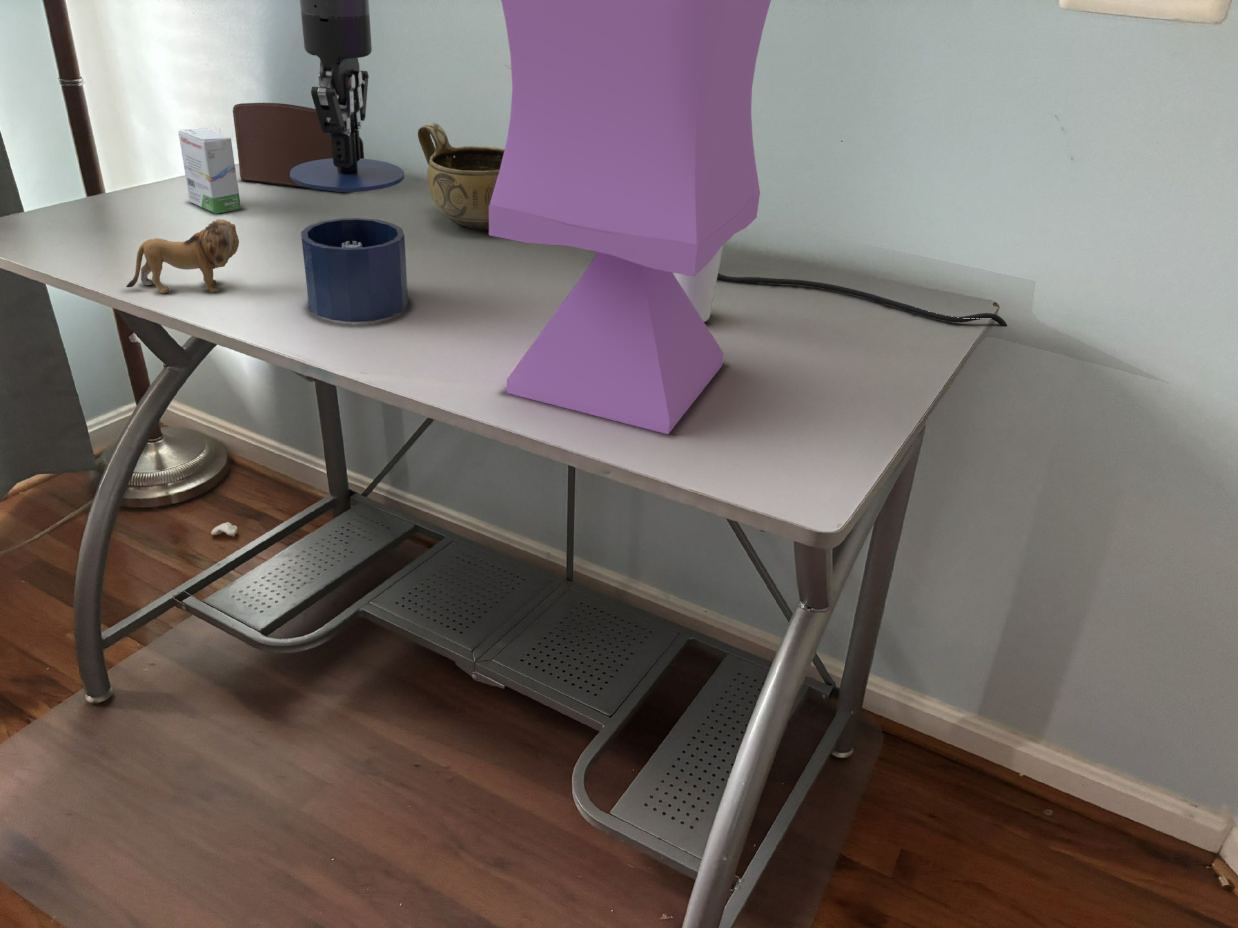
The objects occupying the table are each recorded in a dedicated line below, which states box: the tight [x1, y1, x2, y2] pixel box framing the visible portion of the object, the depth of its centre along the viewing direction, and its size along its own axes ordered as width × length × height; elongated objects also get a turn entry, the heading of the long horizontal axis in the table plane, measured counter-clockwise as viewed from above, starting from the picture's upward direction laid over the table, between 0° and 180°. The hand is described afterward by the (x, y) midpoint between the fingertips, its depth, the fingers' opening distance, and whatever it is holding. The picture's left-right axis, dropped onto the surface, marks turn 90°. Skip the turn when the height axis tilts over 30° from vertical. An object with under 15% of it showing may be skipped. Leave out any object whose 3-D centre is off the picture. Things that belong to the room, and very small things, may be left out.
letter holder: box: [232, 102, 365, 194], centre depth 172 cm, size 10×20×14 cm, turn 81°
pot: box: [300, 217, 409, 323], centre depth 125 cm, size 13×13×10 cm
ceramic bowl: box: [417, 122, 505, 230], centre depth 157 cm, size 22×17×15 cm
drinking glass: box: [672, 244, 725, 323], centre depth 128 cm, size 7×7×15 cm
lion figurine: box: [125, 218, 240, 294], centre depth 127 cm, size 15×5×9 cm, turn 110°
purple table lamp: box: [488, 0, 772, 435], centre depth 102 cm, size 22×22×45 cm
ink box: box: [177, 127, 242, 215], centre depth 157 cm, size 8×5×12 cm, turn 48°
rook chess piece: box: [342, 241, 362, 248], centre depth 125 cm, size 4×4×8 cm
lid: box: [290, 130, 405, 193], centre depth 117 cm, size 14×14×6 cm
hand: (347, 163), depth 118 cm, fingers closed on lid, 2 cm apart
